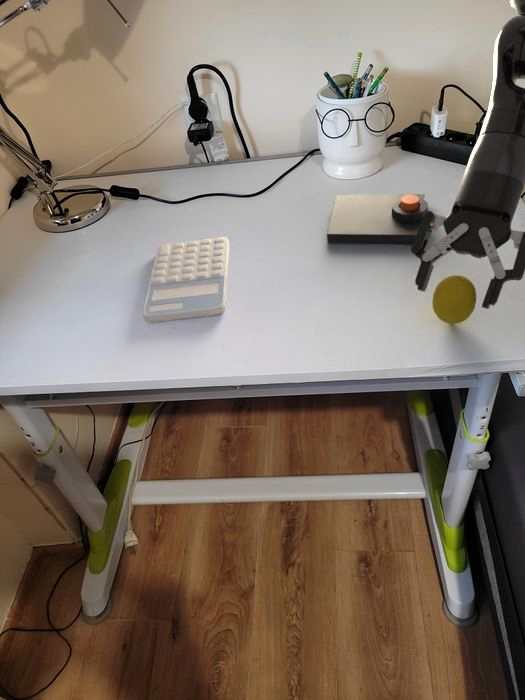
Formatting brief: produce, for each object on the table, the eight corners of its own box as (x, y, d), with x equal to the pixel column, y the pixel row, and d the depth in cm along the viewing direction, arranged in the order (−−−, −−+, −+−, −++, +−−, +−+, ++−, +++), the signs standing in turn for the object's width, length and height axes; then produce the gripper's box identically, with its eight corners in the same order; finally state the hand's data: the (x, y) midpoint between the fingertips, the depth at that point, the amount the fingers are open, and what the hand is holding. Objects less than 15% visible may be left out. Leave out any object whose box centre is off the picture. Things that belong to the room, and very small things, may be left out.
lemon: (428, 333, 71) (434, 289, 65) (431, 307, 74) (437, 262, 69) (470, 337, 69) (480, 292, 63) (471, 310, 73) (481, 265, 67)
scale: (426, 203, 93) (428, 185, 91) (425, 244, 85) (427, 226, 82) (336, 203, 97) (335, 187, 95) (327, 243, 89) (326, 226, 86)
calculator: (230, 242, 93) (228, 233, 92) (225, 315, 79) (223, 306, 78) (159, 251, 94) (157, 242, 93) (143, 324, 80) (139, 315, 79)
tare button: (418, 202, 88) (419, 194, 87) (418, 211, 86) (419, 203, 85) (401, 202, 89) (401, 194, 88) (400, 211, 87) (400, 203, 86)
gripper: (434, 160, 65) (394, 281, 68) (555, 177, 59) (506, 311, 61) (444, 178, 72) (407, 289, 74) (553, 196, 66) (509, 316, 68)
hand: (452, 299), depth 68 cm, fingers open, 8 cm apart
